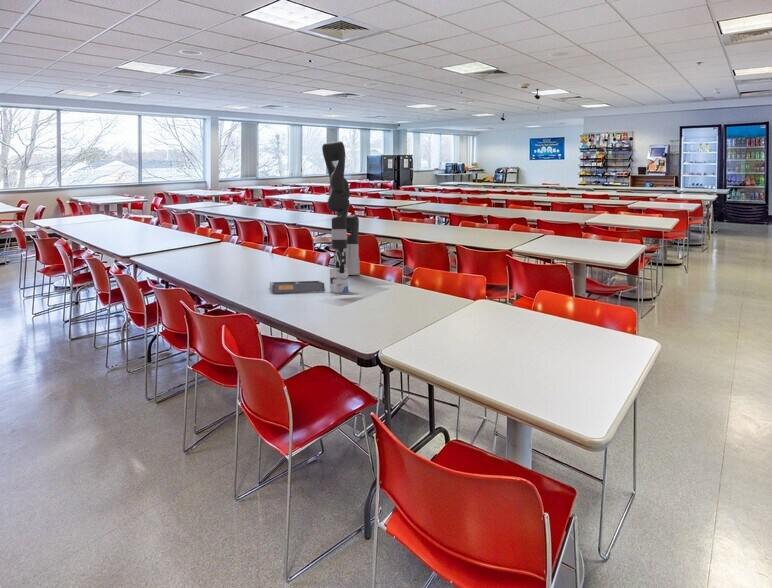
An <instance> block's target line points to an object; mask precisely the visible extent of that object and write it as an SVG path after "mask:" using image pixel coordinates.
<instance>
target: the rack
mask: <svg viewBox="0 0 772 588" xmlns="http://www.w3.org/2000/svg"><path fill="white" fill-rule="evenodd" d="M270 289H271V290H270ZM269 290H270V291H271V294H272V295H274V294H276V295H277V294H294V293H300V292H303V293H309V292H312V291H317V292H321V291H325V282H323V281H321V280H303V281H301V280H300V281H270V282H269Z"/></svg>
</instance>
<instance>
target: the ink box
mask: <svg viewBox="0 0 772 588" xmlns="http://www.w3.org/2000/svg"><path fill="white" fill-rule="evenodd" d="M345 291H346V292H349V275H348V268H344V273H340V268H336V267H335V268H334V267H333V268H331V267H330V268H329V293H333V294H339V293H346V292H345Z"/></svg>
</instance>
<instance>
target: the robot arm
mask: <svg viewBox="0 0 772 588" xmlns="http://www.w3.org/2000/svg"><path fill="white" fill-rule="evenodd" d="M321 146H322V147H321V148H322V149H321V151H322V156H323V160H324V163H325V166H326V169H327V173H328V177H329V190H330V192H329V197H328V199H327V204H326V205H327V206H326V207H327V209H328V211H330V213H331V212H333V213H335V212H336V216H334V217H332V218H331V234H330V235H331V249H333V250H334V251H333V263H334V265H335V268H340V273H344V268H348V276H353V275H354V276H357V275H361V274H360V273H361V271H360V267H361V266H360V264H361V263H360V256H359V237H360V236H359V235H360V234H359V230H360V229H359V226H360V219H359V216H358V215H356V214H355V215H354V214H348V212H349V209H350V200H349V199H350V196H351V192H350V185H349V182H348V180H347V179H346V177H345V167H346V148H345V145H344V143H343V141H341V140H340V141H331V142H326V143H323V144H322V145H321ZM336 161H337V164H336V166H335V165H334V163H333V162H336ZM350 232H351V233H350ZM348 233H350V235H348Z"/></svg>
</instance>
